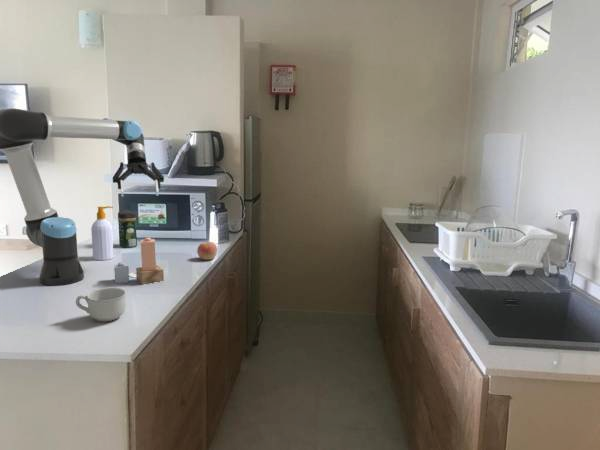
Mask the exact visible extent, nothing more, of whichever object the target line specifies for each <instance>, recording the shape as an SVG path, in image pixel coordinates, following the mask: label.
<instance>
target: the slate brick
mask: <svg viewBox="0 0 600 450" xmlns="http://www.w3.org/2000/svg"><path fill="white" fill-rule="evenodd" d="M113 269H114V283H115V284H120V283H121V284H122V283H129V282H130V276H129V273H130V271H129V270H130V269H129V263H125V262H123V261H122V262H118V263H117V264H116V263H115V264H114V267H113Z"/></svg>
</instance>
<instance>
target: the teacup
mask: <svg viewBox="0 0 600 450" xmlns="http://www.w3.org/2000/svg"><path fill="white" fill-rule="evenodd" d="M126 293H127V291H126V290H124V289H123V288H119V287H102V288H98V289H94V290H91V291H90V292H89V293H88V294H80V295H78V296H77V297H76V299H75V305H76V306H77V308H79V309H80V310H82V311H84V312H86V314H89V316H90V317H91V318H93V320H95V321H98V322H103V323H105V322H107V321H108V322H112V320H113V321H115V319H116V320H117V319H119V318H120V316H122V315H123V314H124V313H125V311H126V308H127V307H126V305H127V303H126V299H127V298H126ZM81 299H84V301H85V302H86V304H87V306H84V305H83V304H82V303H81V302H80V301H81Z"/></svg>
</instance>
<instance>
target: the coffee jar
mask: <svg viewBox="0 0 600 450" xmlns="http://www.w3.org/2000/svg"><path fill="white" fill-rule="evenodd" d="M136 223H137V216H136V212H134V211H132V210H129V209H123V210H122V209H121V210H120V211H118V213H117V224H118V242H119V244H118V245H119V246H120V247H122V248H124V249H126V248H128V249H131V248H135V247H137V246H138V241H137V240H138V237H137V236H138V235H137V224H136Z"/></svg>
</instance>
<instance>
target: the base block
mask: <svg viewBox="0 0 600 450" xmlns="http://www.w3.org/2000/svg"><path fill="white" fill-rule="evenodd" d="M135 269H136V271H135V272H136V275H137V277H136V281H138V282H139V283H140V284H141V285H142V286H144V284H145V285H150V283H152V284H155V283H154V282H158V283H161V282H160V281H165V279H164V269H163V268H162V267H160V266H158V265H157V264H156V270H148V271H142V266H140V267H135Z"/></svg>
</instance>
